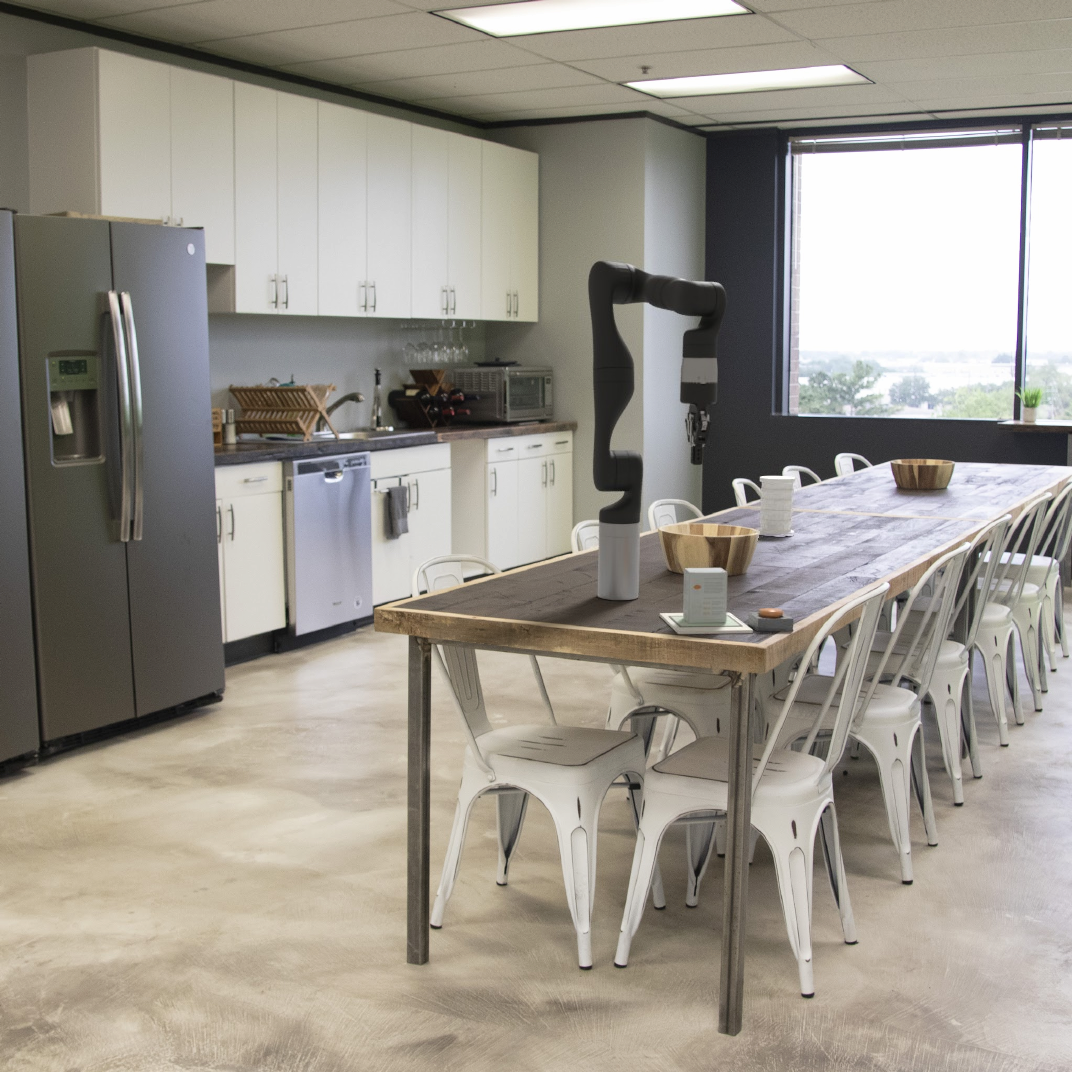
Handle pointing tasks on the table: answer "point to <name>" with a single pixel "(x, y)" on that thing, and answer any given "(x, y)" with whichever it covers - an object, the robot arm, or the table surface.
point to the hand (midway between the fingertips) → (696, 464)
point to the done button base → (770, 622)
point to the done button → (770, 613)
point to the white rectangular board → (705, 625)
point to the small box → (705, 595)
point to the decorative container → (776, 505)
